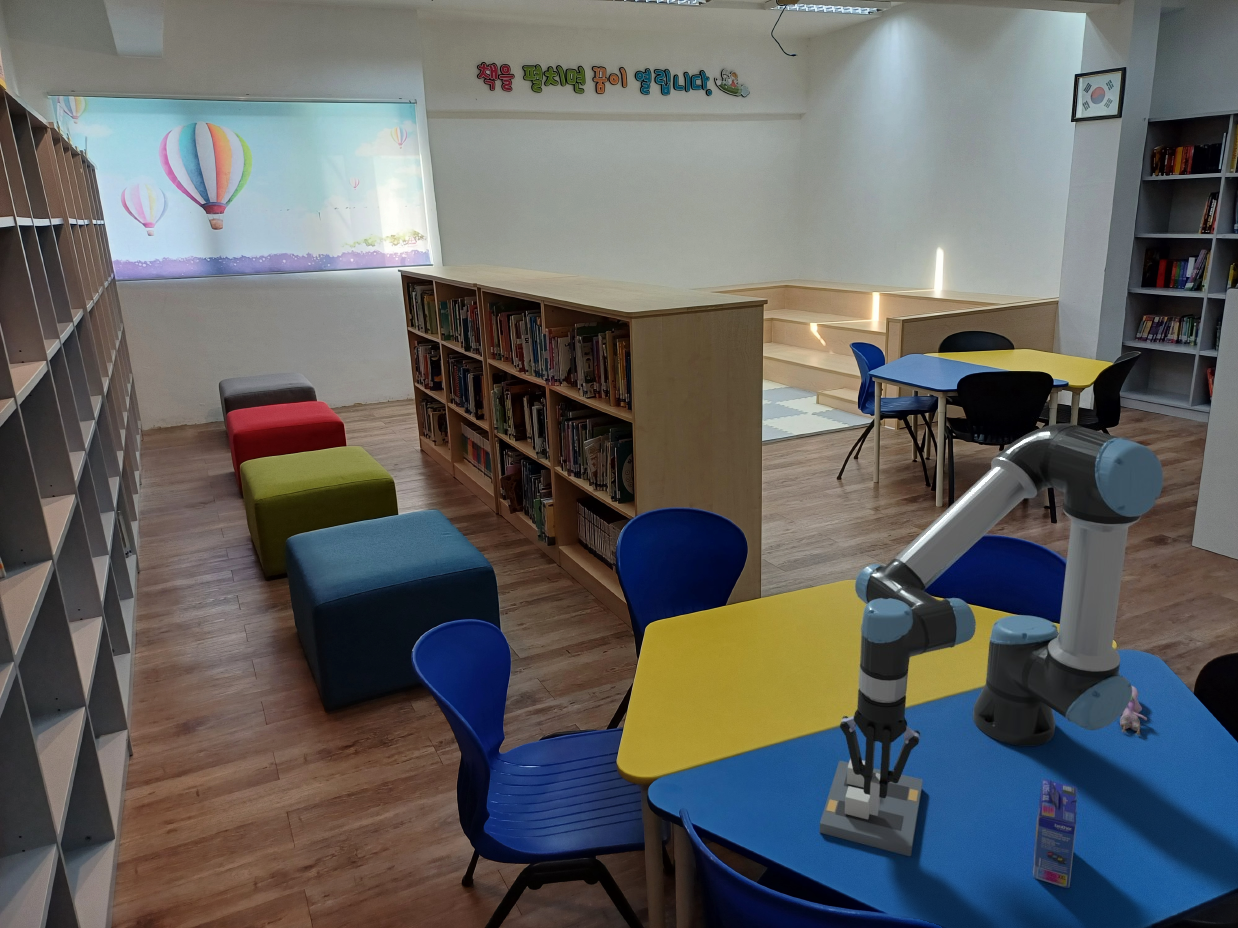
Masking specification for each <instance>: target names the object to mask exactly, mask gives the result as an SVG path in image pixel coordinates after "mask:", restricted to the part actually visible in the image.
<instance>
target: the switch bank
mask: <svg viewBox="0 0 1238 928" xmlns="http://www.w3.org/2000/svg"><path fill="white" fill-rule="evenodd" d="M848 764H849V761H848V762H847V761H845V760H844V761H843V760H838V764H837V766H836V767H837V768H836V770H835V773H834V777H833V780H832V783H831V786H830V789H829V793H828V796H827V799H826V803H825V806H824V809H823V812H822V815H821V819H820V822H819V833H820V834H824V835H827V836H831V837H835V838H840V839H843V840H847V841H850V842H853V843H859V844H863V845H865V846H868V847H872V848H876V849H880V850H885V851H888V852H893V853H895V854H900V855H903V856H907V857H911V856H912V851H913V844H914V838H915V833H916V828H917V827H916V826H917V819H918V814H919V808H920V802H921V795H922V789H923V781H924V780H923V779H922V778H917V777H914V776H909V775H906V774H901V777H900V779H899V782H898V783H893V782H889V783H888V791H887V796H886V798H881V797H880V807H879V812H878V816H876V815H872V814H869V819H864V818H860V817H856V816H852V815H848V814H845V797H846V793H847V790H848V786H850V787H855V788H859V789H863V790H864V788H863V787H859V786H855V785H850V784H847V770H848ZM880 770H881V769H878V768H874V769H873V772H874V773H878V774H880Z"/></svg>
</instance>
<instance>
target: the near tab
mask: <svg viewBox="0 0 1238 928" xmlns="http://www.w3.org/2000/svg"><path fill="white" fill-rule="evenodd" d="M869 801H870V795H868V794H864V790H863V789H859V788H855V787H850V786H848V790H847V793H846V797H845V814H848V815H852V816H856V817H860V818H864V819H869Z"/></svg>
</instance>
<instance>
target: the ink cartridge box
mask: <svg viewBox="0 0 1238 928" xmlns="http://www.w3.org/2000/svg"><path fill="white" fill-rule="evenodd" d="M1077 792H1078V788H1077V787H1076V786H1074V785H1070V784H1064V783H1060V782H1056V781H1053V780H1052V779H1049V780H1048V779H1044V778H1043V779H1042V780H1041V787H1040V793H1039V795H1040V796H1039V799H1038V800H1039V803H1038V810H1037V818H1036V830H1035V841H1034V853H1033V855H1034V856H1033V867H1032V868H1033V869H1032V876H1033V878H1034V879H1036V880H1039V881H1043V882H1046V883H1050V884H1053V885H1056V886H1059V887H1061V888H1065V889H1069V888H1070V884H1071V877H1072V876H1071V875H1072V866H1073V859H1074V858H1073V856H1074V849H1075V839H1076V830H1077V815H1078V814H1077V802H1078V800H1077V799H1078V798H1077V795H1078V793H1077Z"/></svg>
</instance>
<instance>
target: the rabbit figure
mask: <svg viewBox="0 0 1238 928" xmlns="http://www.w3.org/2000/svg"><path fill="white" fill-rule="evenodd" d="M1138 697H1139V692H1138V689H1137V687H1135V686H1133V685H1132V696H1131V700H1130V702H1129V704H1128V706H1127V708H1126V709H1125V710H1124V712H1123V713H1122V714H1121V715H1120V718H1119V719H1120V720H1119V725H1120V727H1121V729H1122V730H1121V733H1122V734H1124V733H1128V732H1127V729H1131V730H1133V731H1135V732H1136V733H1135V735H1141V732H1140V729H1141V721H1140V719H1139V718H1142V719H1143V720H1144V721H1147V720H1148V718H1147V717H1146V716H1144V715H1142V714H1140V712H1141V711H1142V709H1143V708H1142V706H1141V704H1140V703H1139V702H1140V701H1138Z"/></svg>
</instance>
